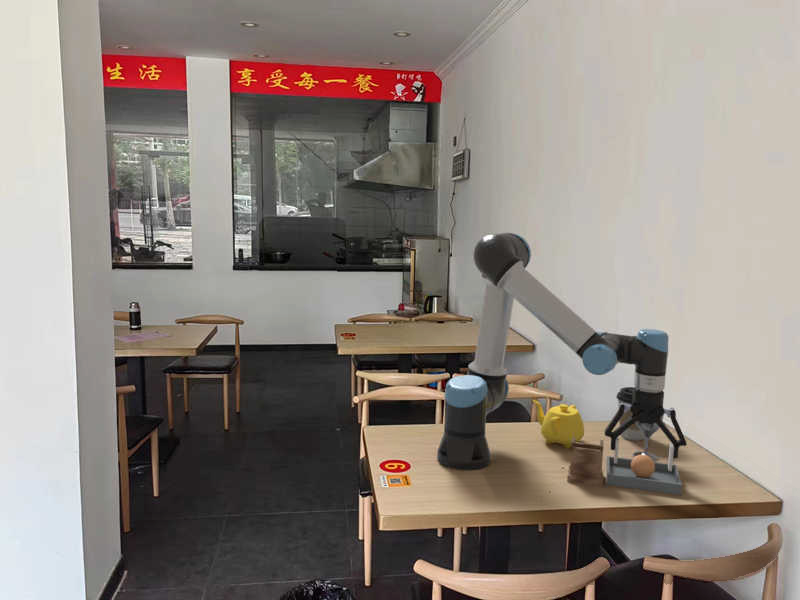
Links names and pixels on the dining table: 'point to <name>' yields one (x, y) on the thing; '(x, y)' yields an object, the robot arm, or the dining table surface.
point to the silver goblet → (647, 437)
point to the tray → (656, 482)
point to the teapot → (560, 424)
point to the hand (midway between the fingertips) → (642, 465)
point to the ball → (642, 466)
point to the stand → (586, 463)
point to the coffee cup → (628, 415)
